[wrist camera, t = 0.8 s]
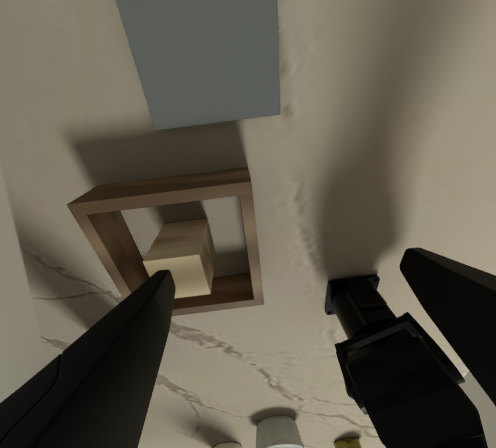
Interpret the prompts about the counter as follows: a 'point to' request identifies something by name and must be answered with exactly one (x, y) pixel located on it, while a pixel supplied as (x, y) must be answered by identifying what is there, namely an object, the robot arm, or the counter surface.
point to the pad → (205, 58)
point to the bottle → (228, 445)
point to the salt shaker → (347, 443)
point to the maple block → (184, 256)
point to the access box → (163, 193)
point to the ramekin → (278, 433)
